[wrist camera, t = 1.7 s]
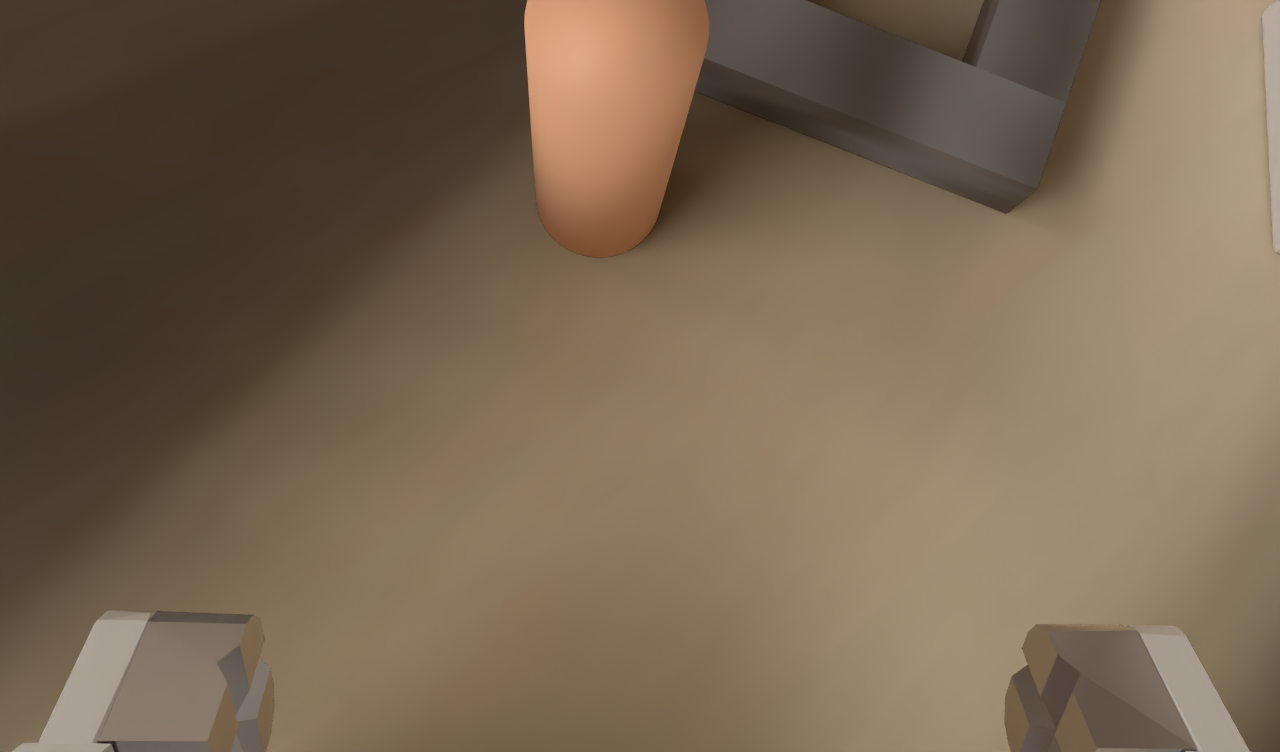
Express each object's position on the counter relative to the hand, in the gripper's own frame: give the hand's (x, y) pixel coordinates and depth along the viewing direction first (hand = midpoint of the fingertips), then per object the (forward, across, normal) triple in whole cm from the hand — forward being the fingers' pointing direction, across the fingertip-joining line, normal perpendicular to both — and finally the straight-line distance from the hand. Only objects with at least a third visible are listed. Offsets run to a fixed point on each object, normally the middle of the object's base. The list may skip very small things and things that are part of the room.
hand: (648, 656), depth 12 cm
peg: (+25, 0, +7) cm, 26 cm away
